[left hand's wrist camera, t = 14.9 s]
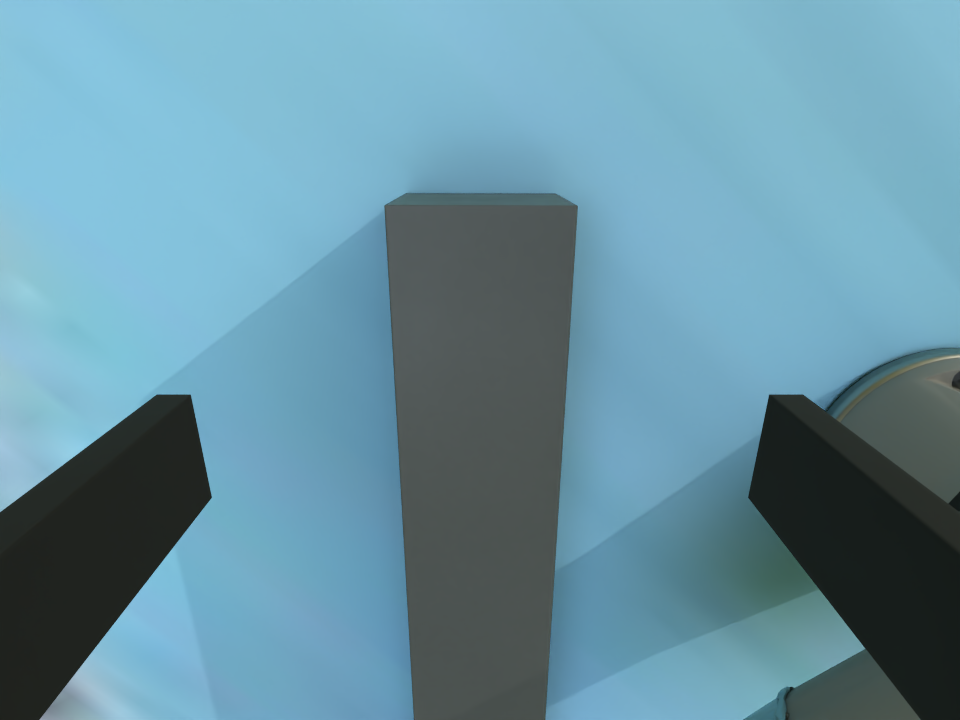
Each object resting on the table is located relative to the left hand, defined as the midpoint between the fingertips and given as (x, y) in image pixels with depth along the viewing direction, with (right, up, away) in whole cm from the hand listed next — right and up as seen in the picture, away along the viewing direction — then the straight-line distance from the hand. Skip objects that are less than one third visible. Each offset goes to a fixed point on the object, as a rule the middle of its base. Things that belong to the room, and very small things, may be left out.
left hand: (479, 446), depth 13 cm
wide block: (0, -23, +32) cm, 39 cm away
